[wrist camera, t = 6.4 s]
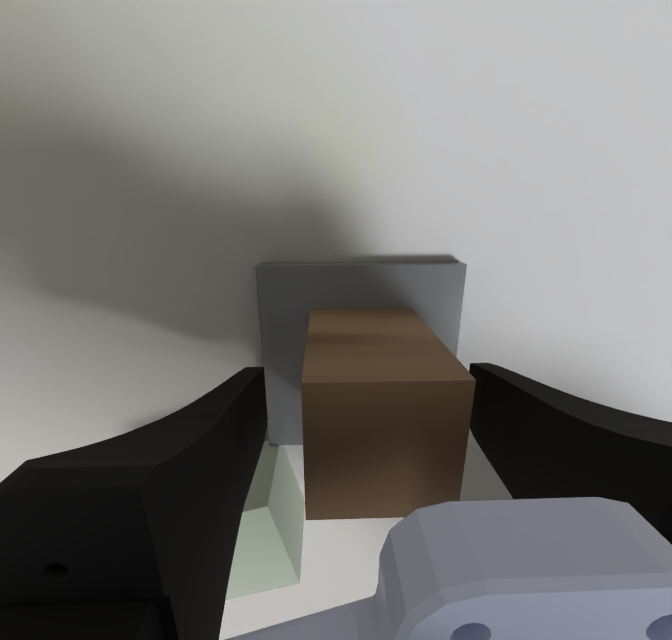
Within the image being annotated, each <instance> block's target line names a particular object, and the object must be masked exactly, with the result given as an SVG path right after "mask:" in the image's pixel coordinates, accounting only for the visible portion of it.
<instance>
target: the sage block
mask: <svg viewBox="0 0 672 640" xmlns="http://www.w3.org/2000/svg"><path fill="white" fill-rule="evenodd" d="M304 509H305V501H304V498H303V495H302V493H301V490H300V487H299V485H298V482H297V479H296V476H295V474H294V471H293V468H292V466H291V463H290V460H289V458H288V455H287V452H286V450H285V447H284V445H269V440H267V441H264V444H263V447H262V451H261V454H260V457H259V460H258V464H257V467H256V470H255V473H254V476H253V479H252V482H251V486H250V489H249V492H248V495H247V498H246V501H245V505H244V509H243V512H242V516H241V521H240V526H239V531H238V536H237V541H236V546H235V551H234V556H233V561H232V566H231V572H230V577H229V582H228V588H227V593H226V599H225V600H227V599H231V598H236V597H240V596H245V595H249V594H254V593H258V592H263V591H267V590H272V589H276V588H280V587H285V586H289V585H294V584H298V583H300V570H301V555H302V540H303V525H304Z"/></svg>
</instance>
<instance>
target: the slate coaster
mask: <svg viewBox="0 0 672 640" xmlns="http://www.w3.org/2000/svg"><path fill="white" fill-rule="evenodd" d="M466 266H467V264H465V263H462V262H393V263H271V264H258V265H256V275H257V289H258V302H259V315H260V329H261V342H262V355H263V367H264V374H265V388H266V401H267V414H268V421H267V422H268V435H269V445H300V444H303V425H302V396H301V379H302V372H303V364H304V356H305V348H306V341H307V333H308V325H309V317H310V310H311V309H378V308H412V309H413V310H414V311H415V312H416V313H417V314H418V316H419V317H420V318H421V319H422V320H423V321H424V322H425V323H426V325H427V326H428V327H429V328H430V329H431V330H432V331H433V332H434V334H435V335H436V336H437V337H438V338H439V339H440V340H441V341H442V342H443V344H444V345H445V346H446V347H447V348H448V349H449V350H450V351H451V353H452V354H453V355H454V356H455V357H456V354H457V345H458V336H459V327H460V319H461V310H462V301H463V292H464V284H465V275H466Z"/></svg>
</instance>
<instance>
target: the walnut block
mask: <svg viewBox="0 0 672 640" xmlns="http://www.w3.org/2000/svg"><path fill="white" fill-rule="evenodd" d="M475 384H476V379H475V378H474V377H473V376H472V375H471V374H470V373H469V372H468V370H467V369H466V368H465V367H464V366H463V365H462V364H461V363H460V362H459V360H458V359H457V358H456V357H455V356H454V355H453V354H452V353H451V351H450V350H449V349H448V348H447V347H446V346H445V345H444V344H443V342H442V341H441V340H440V339H439V338H438V337H437V336H436V335H435V334H434V332H433V331H432V330H431V329H430V328H429V327H428V326H427V325H426V323H425V322H424V321H423V320H422V319H421V318H420V317H419V316H418V314H417V313H416V312H415V311H414V310H413V309H412V308H378V309H311V310H310V317H309V325H308V333H307V341H306V348H305V356H304V364H303V372H302V379H301V396H302V425H303V453H304V481H305V510H306V520H326V519H359V518H392V517H407V516H408V515H410V514H411V513H412V512H413V511H415V510H416V509H418V508H422V507H427V506H431V505H435V504H439V503H443V502H447V501H459V499H460V491H461V484H462V477H463V470H464V463H465V456H466V449H467V441H468V434H469V427H470V420H471V413H472V406H473V399H474V391H475Z"/></svg>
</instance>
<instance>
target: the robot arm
mask: <svg viewBox="0 0 672 640" xmlns="http://www.w3.org/2000/svg"><path fill="white" fill-rule="evenodd" d="M469 373H470V374H471V375H472V376H473V377H474V378H475V379H476V384H475V391H474V399H473V406H472V413H471V420H470V429H471V432H472V434H473V436H474V438H475V440H476V441H477V443H478V445H479V446H480V448H481V449H482V451H483V452H484V454H485V456H486V457H487V459H488V460H489V462H490V463H491V465H492V466H493V468H494V470H495V471H496V473H497V474H498V476H499V477H500V479H501V480H502V482H503V483H504V485H505V487H506V488H507V490H508V491H509V493H510V494H511V496H512V498H513V499H511V500H479V501H447V502H443V503H439V504H435V505H431V506H427V507H422V508H418V509H416V510H415V511H413V512H412V513H411V514H410V515H408V516H407V517H406V518H404V519H403V520H402V521H400V522H399V523H398V524H397V525H395V526H394V527H393V528H391V529H390V531H389V533H388V535H387V538H386V540H385V543H384V545H383V548H382V550H381V553H380V557H379V577H378V585H377V590H376V594H375V595H374V596H372V597H368V598H365V599H361V600H358V601H355V602H351V603H348V604H344V605H341V606H338V607H334V608H331V609H327V610H324V611H321V612H317V613H314V614H310V615H307V616H304V617H300V618H297V619H293V620H290V621H287V622H283V623H280V624H276V625H273V626H270V627H266V628H263V629H259V630H256V631H253V632H249V633H246V634H242V635H239V636H236V637H232V638H229V639H225V640H672V422H667V421H662V420H658V419H654V418H649V417H645V416H641V415H637V414H633V413H629V412H625V411H621V410H618V409H614V408H611V407H607V406H604V405H601V404H597V403H594V402H591V401H588V400H585V399H582V398H579V397H576V396H573V395H571V394H568V393H565V392H562V391H560V390H557V389H554V388H552V387H549V386H547V385H544V384H542V383H539V382H537V381H535V380H532V379H530V378H527V377H525V376H522V375H520V374H518V373H515V372H513V371H510V370H508V369H505V368H502V367H500V366H497V365H494V364H490V363H470V371H469ZM267 421H268V414H267V401H266V388H265V374H264V367H246V368H244V369H242V370H241V371H239V372H238V373H236V374H235V375H233V376H232V377H231V378H229V379H228V380H226V381H225V382H223V383H222V384H221V385H219V386H218V387H216V388H215V389H213V390H212V391H210V392H209V393H207V394H205V395H204V396H202V397H201V398H199V399H197V400H196V401H194V402H193V403H191V404H189V405H187V406H186V407H184V408H182V409H180V410H178V411H176V412H174V413H172V414H170V415H168V416H166V417H164V418H162V419H160V420H157V421H155V422H152V423H150V424H147V425H145V426H143V427H140V428H138V429H135V430H133V431H130V432H128V433H125V434H122V435H119V436H116V437H113V438H110V439H107V440H104V441H101V442H97V443H94V444H91V445H87V446H84V447H80V448H77V449H73V450H68V451H64V452H60V453H56V454H52V455H48V456H44V457H40V458H35V459H30V460H27V461H25V462H24V463H23V464H22V465H20V466H19V467H18V468H17V469H16V470H15V471H14V472H12V473H11V474H10V475H9V476H8V477H7V478H5V479H4V480H3V481H2V482H1V483H0V640H219V634H220V628H221V622H222V616H223V611H224V605H225V599H226V593H227V588H228V582H229V577H230V572H231V566H232V561H233V556H234V551H235V546H236V541H237V536H238V531H239V526H240V521H241V516H242V512H243V509H244V505H245V501H246V498H247V495H248V492H249V489H250V486H251V482H252V479H253V476H254V473H255V470H256V467H257V464H258V460H259V457H260V454H261V451H262V447H263V444H264V439H265V433H266V427H267Z"/></svg>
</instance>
